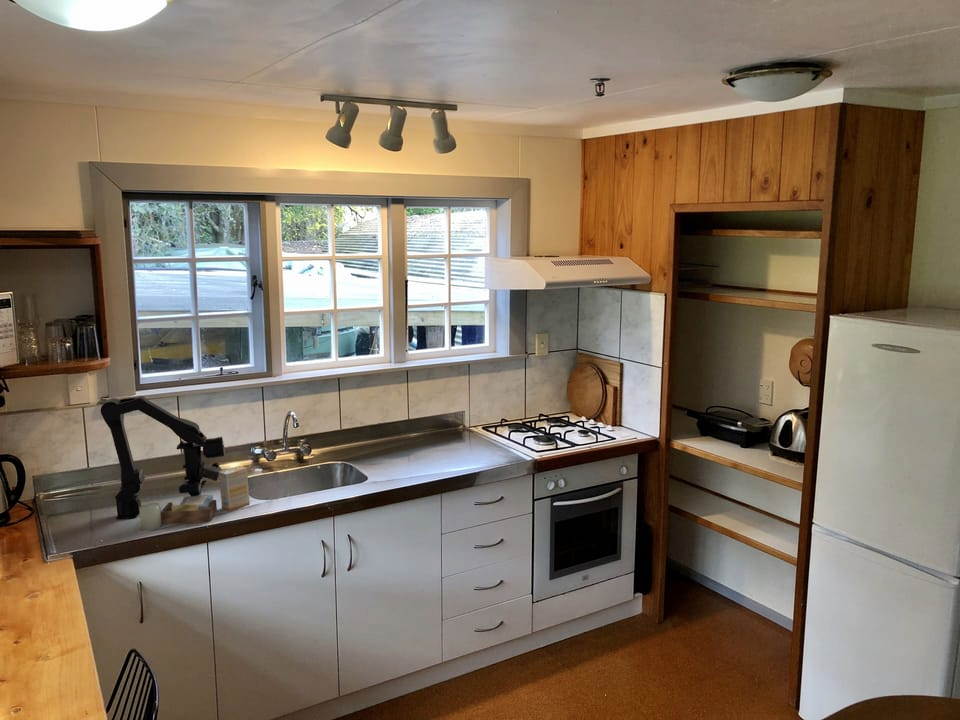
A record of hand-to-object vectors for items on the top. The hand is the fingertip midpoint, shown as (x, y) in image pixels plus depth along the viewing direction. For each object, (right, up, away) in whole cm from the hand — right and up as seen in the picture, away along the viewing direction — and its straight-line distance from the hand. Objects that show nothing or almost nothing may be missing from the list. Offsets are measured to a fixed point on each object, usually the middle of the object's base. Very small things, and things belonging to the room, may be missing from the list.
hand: (197, 503), depth 259 cm
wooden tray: (+1, -3, -9) cm, 10 cm away
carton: (+2, -3, -7) cm, 8 cm away
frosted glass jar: (-9, -4, -17) cm, 19 cm away
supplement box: (+13, -1, +1) cm, 13 cm away
